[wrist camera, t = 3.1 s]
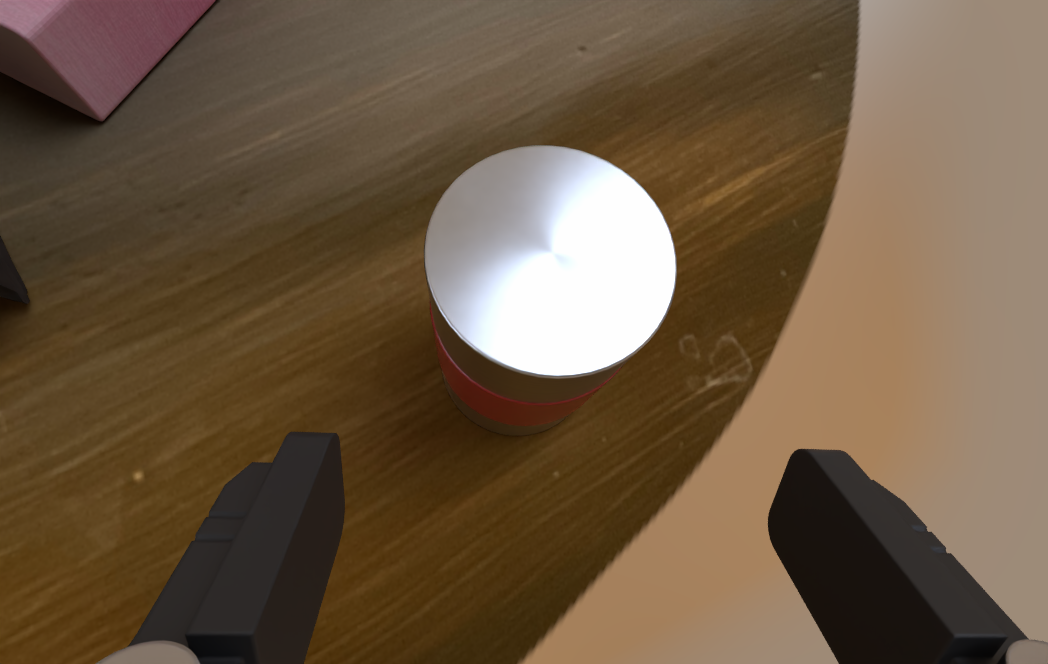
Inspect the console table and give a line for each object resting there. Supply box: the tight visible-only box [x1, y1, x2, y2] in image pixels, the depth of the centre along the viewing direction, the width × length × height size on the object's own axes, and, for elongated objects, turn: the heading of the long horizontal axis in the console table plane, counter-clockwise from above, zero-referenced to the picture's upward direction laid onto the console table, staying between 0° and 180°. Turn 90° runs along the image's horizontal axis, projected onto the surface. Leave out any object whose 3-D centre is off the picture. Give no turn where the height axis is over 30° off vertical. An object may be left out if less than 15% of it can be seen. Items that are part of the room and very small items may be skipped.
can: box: [424, 145, 677, 436], centre depth 18 cm, size 6×6×10 cm
